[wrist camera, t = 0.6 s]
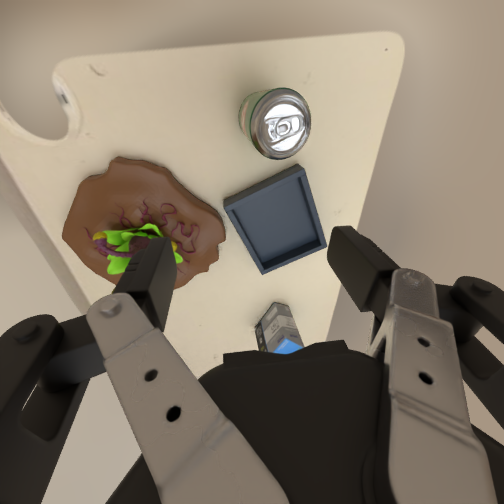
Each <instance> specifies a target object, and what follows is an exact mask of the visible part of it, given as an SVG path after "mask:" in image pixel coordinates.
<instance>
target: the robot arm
mask: <svg viewBox="0 0 504 504" xmlns="http://www.w3.org/2000/svg"><path fill="white" fill-rule="evenodd" d="M327 260H328V263H329V265H330V266H331V268H332V269H333V271H334V272H335V274H336V275H337V277H338V278H339V280H340V281H341V283H342V284H343V286H344V287H345V289H346V290H347V292H348V294H349V295H350V296H351V298H352V300H353V301H354V302H355V304H356V306H357V307H358V309H359V310H360V312H368V311H372V312H373V313H374V316H373V318H372V321H371V327H370V333H369V339H368V344H367V350H366V354H364V353H361V352H358V351H354V350H350V349H348V347H347V345H346V343H345V341H344V340H336V341H328V342H319V343H314V344H312V345H309V346H307V347H304V348H302V349H299V350H297V351H294V352H292V353H289V354H280V353H272V352H265V351H257V350H251V351H242V352H234V353H225V354H223V364H221V365H219V366H217V367H215V368H213V369H211V370H209V371H208V372H206V373H205V374H204V375H202V376H201V377H200V378H199V379H198V380H197V379H196V377H195V376H194V375H193V373H192V372H191V371H190V369H189V368H188V367H187V365H186V364H185V363H184V361H183V360H182V358H181V357H180V356H179V354H178V353H177V352H176V350H175V349H174V348H173V346H172V345H171V344H170V342H169V341H168V340H167V338H166V337H165V336H164V334H163V333H162V332H164V328H165V324H166V320H167V316H168V311H169V307H170V303H171V298H172V294H173V290H174V286H175V281H176V277H177V264H176V260H175V256H174V252H173V247H172V243H171V240H170V238H169V237H157V238H151V240H150V242H149V244H148V246H147V248H146V249H140V250H139V251H138V252H137V253H135V254H134V255H133V256H132V258H131V259H130V261H129V263H128V265H127V267H126V269H125V272H123V274H122V276H121V278H120V280H119V282H118V283H117V285H116V287H115V289H114V291H113V293H112V294H110V295H107V296H105V297H103V298H101V299H99V300H98V301H96V302H95V303H94V304H93V305H92V306H91V307H90V308H89V310H88V311H87V314H86V315H83V316H80V317H77V318H74V319H70V320H67V321H64V322H61V323H58V321H57V320H56V319H55V317H53V316H52V315H47V314H44V315H37V316H33V317H30V318H27V319H25V320H23V321H21V322H19V323H17V324H16V325H14V326H12V327H11V328H10V329H8V330H7V331H6V332H5V333H4V334H3V335H2V336H1V337H0V504H41V502H42V500H43V497H44V494H45V492H46V489H47V487H48V484H49V482H50V479H51V477H52V474H53V472H54V469H55V467H56V464H57V462H58V459H59V456H60V454H61V451H62V449H63V446H64V444H65V441H66V439H67V436H68V434H69V431H70V429H71V426H72V424H73V421H74V419H75V416H76V413H77V411H78V409H79V405H80V403H81V401H82V398H83V396H84V393H85V391H86V388H87V386H88V383H89V381H90V378H92V377H94V376H97V375H99V374H102V373H104V372H107V373H108V376H109V378H110V380H111V383H112V385H113V387H114V390H115V392H116V394H117V397H118V399H119V401H120V403H121V406H122V408H123V410H124V413H125V415H126V417H127V419H128V422H129V424H130V426H131V429H132V431H133V433H134V435H135V438H136V440H137V442H138V445H139V447H140V449H141V452H142V454H141V456H140V457H139V458H138V460H137V461H136V462H135V464H134V465H133V466H132V468H131V469H130V471H129V472H128V473H127V475H126V476H125V477H124V479H123V480H122V481H121V483H120V484H119V486H118V487H117V488H116V490H115V491H114V492H113V494H112V495H111V496H110V498H109V499H108V501H107V502H106V503H105V504H504V446H503V445H502V444H500V443H499V442H497V441H496V440H494V439H493V438H492V437H490V436H489V435H487V434H486V433H484V432H483V431H481V430H480V429H478V428H477V427H476V426H474V425H473V424H471V423H470V418H469V413H468V408H467V402H466V397H465V391H464V386H463V380H464V381H465V382H466V384H467V385H468V386H469V387H470V388H471V390H472V391H473V392H474V393H475V394H476V396H477V397H478V398H479V399H480V401H481V402H482V403H483V405H484V406H485V407H486V408H487V409H488V411H489V412H490V413H491V414H492V416H493V417H494V418H495V419H496V421H497V422H498V423H499V424H500V426H501V427H502V428H503V429H504V365H503V364H502V363H501V362H500V361H499V360H498V359H497V358H496V357H495V356H494V355H493V354H492V353H491V352H490V351H489V350H488V349H487V348H486V347H485V346H484V345H483V344H482V343H481V342H480V341H479V340H478V339H477V338H476V337H475V336H474V335H475V334H476V333H477V332H478V331H479V329H481V328H482V327H483V326H484V327H485V328H486V329H488V330H489V331H490V332H491V333H492V334H493V335H494V336H495V337H496V338H497V339H498V340H499V341H501V342H502V343H503V344H504V291H502V290H501V289H500V288H498V287H497V286H495V285H493V284H492V283H490V282H487V281H485V280H482V279H479V278H475V277H470V276H463V277H460V278H458V279H457V281H456V282H455V283H454V285H453V286H448V285H440V284H434V282H433V281H432V280H431V279H430V278H429V277H428V276H426V275H425V274H423V273H421V272H418V271H415V270H411V269H404V268H400V267H399V266H398V265H397V264H396V263H395V262H394V261H393V260H392V259H391V258H389V256H387V255H386V254H385V253H384V252H382V250H381V249H380V248H379V247H377V245H376V244H375V243H373V242H372V241H371V240H370V239H368V238H366V237H364V236H363V235H360V234H359V233H358V232H357V231H356V230H355V229H354V228H353V227H352V226H336V227H334V228H333V230H332V233H331V238H330V242H329V246H328V251H327ZM462 379H463V380H462ZM36 384H37V386H36V387H35V385H36ZM34 387H35V389H34ZM33 389H34V391H33V393H32V394H31V392H32V390H33ZM30 394H31V396H30ZM29 396H30V398H29V400H28V401H27V399H28V397H29ZM26 401H27V403H26ZM25 403H26V405H25V407H24V408H23V406H24V404H25ZM22 409H23V410H22Z"/></svg>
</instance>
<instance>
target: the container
mask: <svg viewBox="0 0 504 504" xmlns="http://www.w3.org/2000/svg"><path fill="white" fill-rule="evenodd" d="M223 206H224V209H225V211H226V213H227V215H228V216H229V218H230V220H231V222H232V223H233V225H234V227H235V229H236V230H237V232H238V234H239V236H240V237H241V239H242V241H243V243H244V244H245V246H246V248H247V250H248V251H249V253H250V255H251V257H252V258H253V260H254V262H255V264H256V265H257V267H258V269H259V271H260V272H261V274H262V275H263V274H266V273H268V272H270V271H272V270H275V269H277V268H279V267H282V266H284V265H286V264H289V263H291V262H293V261H296V260H298V259H300V258H303V257H305V256H307V255H310V254H312V253H314V252H317V251H319V250H321V249H324V248H326V247H327V244H326V240H325V237H324V234H323V230H322V227H321V224H320V220H319V217H318V213H317V210H316V207H315V203H314V200H313V196H312V193H311V190H310V186H309V183H308V180H307V176H306V173H305V169H304V168H303V167H302V166H300V165H299V164H297V165H295V166H293V167H291V168H289V169H287V170H284V171H282V172H280V173H278V174H276V175H274V176H272V177H270V178H268V179H266V180H264V181H262V182H260V183H258V184H256V185H254V186H252V187H250V188H248V189H246V190H244V191H242V192H240V193H238V194H236V195H234V196H232V197H230V198H228V199H225V200H223Z"/></svg>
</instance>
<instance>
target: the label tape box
mask: <svg viewBox="0 0 504 504" xmlns="http://www.w3.org/2000/svg"><path fill="white" fill-rule="evenodd" d="M255 334H256V339H257V344H258V349H259V351H265V352H272V353H280V354H289V353H292V352H294V351H297V350H299V349H302V348H304V345H303V342H302V339H301V337H300V334H299V332H298V329H297V326H296V324H295V321H294V319H293V316H292V314H291V311H290V309H289V306H286V305H282V304H278V303H273V305H272V306H271V308H270V309H269V310H268V312H267V313H266V314H265V316H264V317H263V318H262V320H261V321H260V322H259V324H258V325H257V326H256V328H255Z"/></svg>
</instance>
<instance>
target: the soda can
mask: <svg viewBox="0 0 504 504" xmlns="http://www.w3.org/2000/svg"><path fill="white" fill-rule="evenodd" d="M239 124H240V127H241V130H242V132H243V133H244V134H245V136H246V137H247V138H248V139H249V141H250V142H251V143H252V144H253V145H254V147H255V148H256V149H257V150H258V151H259V152H260V153H261V154H262V155H263V156H265V157H267V158H270V159H274V160H282V159H286V158H289V157H291V156H293V155H294V154H296V153H297V152H298V151H299V150H300V149H301V148H302V147H303V146H304V144H305V143H306V141H307V139H308V136H309V134H310V129H311V114H310V109H309V106H308V104H307V102H306V101H305V99H304V98H303V97H302V96H301V95H300V94H299V93H298V92H296V91H295V90H292V89H289V88H276V89H271V90H265V91H260V92H255V93H253V94H251V95H249V96H248V97H247V98H246V99H245V100H244V101H243V103H242V105H241V107H240V111H239Z"/></svg>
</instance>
